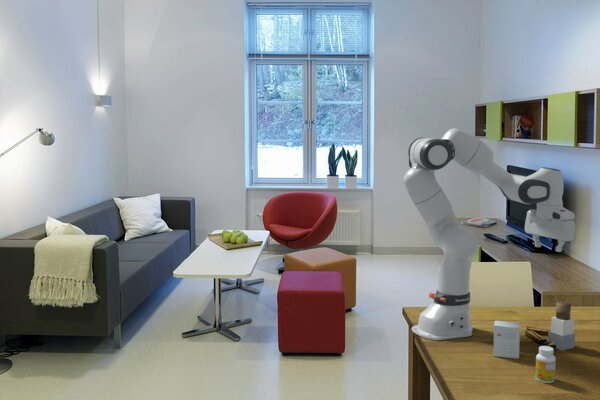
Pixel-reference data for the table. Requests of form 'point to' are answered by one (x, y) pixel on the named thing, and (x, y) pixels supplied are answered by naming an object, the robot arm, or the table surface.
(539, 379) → the supplement bottle
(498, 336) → the small box
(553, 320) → the top block
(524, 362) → the table surface
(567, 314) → the walnut cylinder
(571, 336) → the base block
